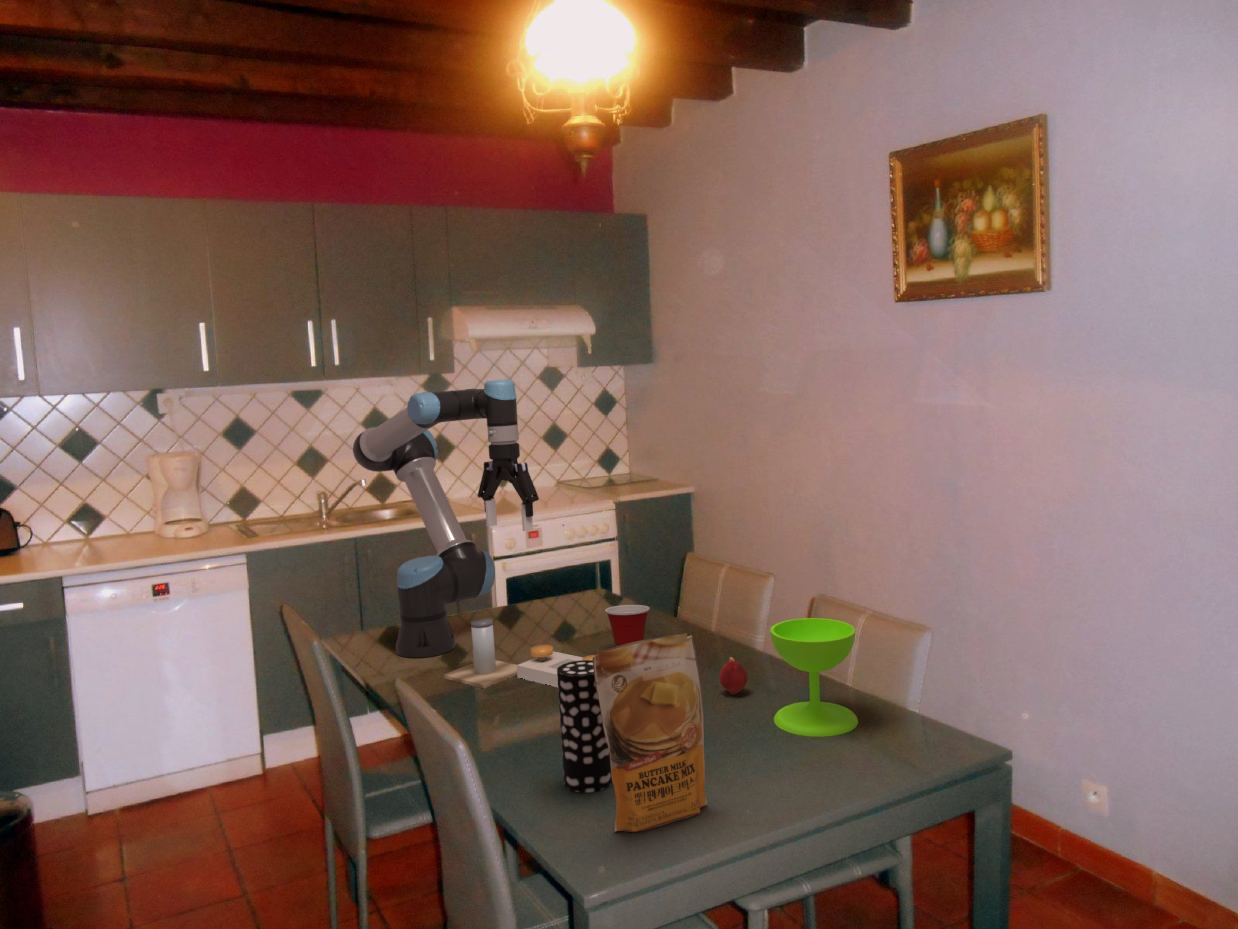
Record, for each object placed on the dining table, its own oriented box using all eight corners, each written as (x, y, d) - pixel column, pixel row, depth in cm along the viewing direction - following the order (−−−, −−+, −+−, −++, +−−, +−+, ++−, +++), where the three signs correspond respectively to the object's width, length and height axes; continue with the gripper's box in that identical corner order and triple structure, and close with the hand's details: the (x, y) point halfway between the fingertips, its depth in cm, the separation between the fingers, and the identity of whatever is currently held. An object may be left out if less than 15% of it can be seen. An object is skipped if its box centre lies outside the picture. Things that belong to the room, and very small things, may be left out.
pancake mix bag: (593, 823, 145) (583, 647, 142) (700, 792, 153) (691, 626, 150) (612, 842, 139) (601, 659, 136) (721, 809, 147) (713, 636, 144)
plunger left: (527, 667, 218) (525, 649, 217) (542, 661, 222) (541, 643, 221) (543, 671, 214) (542, 652, 214) (558, 665, 218) (557, 646, 218)
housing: (517, 678, 215) (516, 665, 215) (553, 663, 224) (552, 651, 224) (586, 694, 202) (585, 680, 202) (620, 678, 211) (620, 665, 211)
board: (443, 678, 218) (442, 674, 218) (487, 661, 229) (487, 658, 229) (484, 688, 209) (483, 685, 209) (528, 670, 220) (527, 667, 220)
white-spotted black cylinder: (563, 773, 163) (556, 662, 161) (611, 769, 164) (604, 658, 162) (564, 795, 155) (557, 678, 153) (614, 790, 156) (607, 674, 153)
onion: (751, 691, 198) (749, 654, 197) (743, 700, 193) (741, 663, 192) (725, 688, 201) (723, 652, 200) (716, 697, 196) (714, 660, 195)
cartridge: (470, 672, 219) (466, 622, 217) (485, 666, 222) (482, 617, 221) (484, 675, 215) (481, 625, 214) (500, 669, 219) (496, 619, 218)
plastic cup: (653, 648, 232) (650, 600, 231) (650, 662, 221) (648, 612, 220) (610, 649, 233) (607, 602, 232) (605, 663, 222) (602, 613, 221)
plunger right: (578, 679, 208) (577, 659, 207) (593, 672, 212) (592, 653, 211) (596, 683, 204) (595, 663, 204) (611, 676, 208) (610, 657, 208)
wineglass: (809, 743, 170) (805, 647, 168) (757, 716, 184) (753, 627, 182) (876, 724, 177) (873, 631, 175) (821, 699, 191) (818, 613, 189)
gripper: (460, 443, 235) (466, 526, 238) (526, 445, 218) (532, 534, 221) (483, 440, 241) (489, 521, 243) (549, 442, 224) (555, 529, 226)
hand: (509, 528), depth 232 cm, fingers open, 13 cm apart
